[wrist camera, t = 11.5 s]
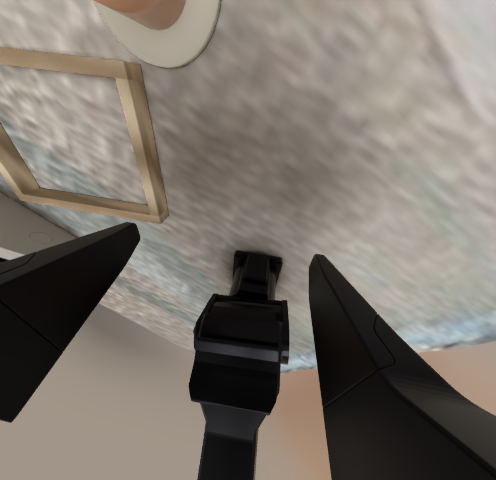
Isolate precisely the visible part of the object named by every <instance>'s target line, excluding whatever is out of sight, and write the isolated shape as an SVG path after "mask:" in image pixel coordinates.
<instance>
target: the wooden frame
mask: <svg viewBox="0 0 496 480" xmlns="http://www.w3.org/2000/svg"><path fill="white" fill-rule="evenodd" d="M0 64H4V65H12V66H20V67H29V68H37V69H45V70H54V71H62V72H70V73H78V74H87V75H95V76H103V77H112V78H115V79H116V83H117V87H118V91H119V95H120V99H121V102H122V106H123V110H124V114H125V118H126V122H127V126H128V130H129V134H130V137H131V141H132V145H133V149H134V153H135V157H136V161H137V165H138V168H139V172H140V176H141V180H142V184H143V188H144V192H145V196H146V199H147V203H148V205H143V204H137V203H131V202H125V201H118V200H112V199H106V198H100V197H94V196H87V195H81V194H75V193H69V192H63V191H56V190H50V189H44V188H40V187H39V186H38V184H37V182H36V181H35V179H34V178H33V176H32V174H31V173H30V171H29V169H28V168H27V166H26V164H25V163H24V161H23V160H22V158H21V156H20V155H19V153H18V151H17V150H16V148H15V146H14V145H13V143H12V142H11V140H10V138H9V137H8V135H7V133H6V132H5V130H4V128H3V127H2V125H1V124H0V172H1V174H2V175H3V176H4V178H5V179H6V181H7V182H8V183H9V185H10V186H11V188H12V189H13V191H14V192H15V193H16V195H17V196H18V198H19V199H20V200H21V201H26V202H32V203H38V204H44V205H50V206H56V207H62V208H68V209H74V210H80V211H86V212H92V213H98V214H104V215H110V216H116V217H122V218H128V219H134V220H140V221H146V222H152V223H158V224H161V223H162V222H163V221H164V220H165V219H166V218H167V217H168V216H169V214H168V209H167V204H166V198H165V193H164V188H163V183H162V177H161V172H160V167H159V162H158V156H157V151H156V146H155V141H154V135H153V130H152V125H151V119H150V114H149V109H148V104H147V98H146V93H145V88H144V83H143V77H142V72H141V67H140V65H138V64H134V63H129V62H124V61H117V60H108V59H99V58H90V57H82V56H73V55H64V54H56V53H47V52H38V51H29V50H21V49H12V48H3V47H0Z"/></svg>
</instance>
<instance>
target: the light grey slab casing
mask: <svg viewBox="0 0 496 480" xmlns="http://www.w3.org/2000/svg"><path fill="white" fill-rule="evenodd" d="M73 239H76V237H74V236H72V235H71V234H69V233H67V232H66V231H64V230H62V229H61V228H59V227H57V226H56V225H54V224H52V223H51V222H49V221H47V220H46V219H44V218H42V217H41V216H39V215H37V214H36V213H34V212H32V211H31V210H29V209H27V208H26V207H24V206H22V205H21V204H19V203H17V202H16V201H14V200H12V199H11V198H9V197H7V196H5V195H4V194H2V193H0V263H1V262H5V261H8V260H11V259H14V258H18V257H21V256H24V255H27V254H30V253H33V252H38V251H39V250H42V249H46V248H49V247H52V246H55V245H58V244H61V243H64V242H67V241H70V240H73Z"/></svg>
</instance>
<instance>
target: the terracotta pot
mask: <svg viewBox="0 0 496 480" xmlns="http://www.w3.org/2000/svg"><path fill="white" fill-rule="evenodd" d="M94 1H96V2H98V3H100V4H102V5H104V6H106V7H108V8H110V9H112V10H114V11H116V12H118V13H120V14H122V15H124V16H125V17H127V18H129V19H131V20H133V21H135V22H137V23H139V24H141V25H143V26H145V27H147V28H150V29H153V30H164V29H167V28H169V27H170V26H172V25H173V24H174V23H175V22H176V21H177V20H178V18H179V17H180V15H181V13H182V11H183V9H184V6H185V3H186V0H94Z"/></svg>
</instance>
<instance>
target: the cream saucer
mask: <svg viewBox="0 0 496 480" xmlns="http://www.w3.org/2000/svg"><path fill="white" fill-rule="evenodd" d="M93 1H94V0H93ZM94 3H95V5H96V7H97V9H98V11H99V13H100V14H101V16H102V18H103V20H104V21H105V23H106V24H107V26H108V27H109V29H110V30H111V31H112V33H113V34H114V35H115V37H116V38H117V39H118V40H119V41H120V42H121V43H122V45H123V46H124V47H126V48H127V49H128V50H129V51H130V52H131V53H132V54H134V55H135V56H136V57H138V58H139V59H141V60H143V61H145V62H147V63H149V64H152V65H155V66H159V67H164V68H177V67H182V66H184V65H187V64H188V63H190V62H192V61H193V60H194V59H196V58H197V57H198V56H199V55H200V54H201V52H202V51H203V50H204V49H205V47H206V46H207V44H208V42H209V41H210V38H211V36H212V34H213V32H214V29H215V26H216V23H217V19H218V15H219V10H220V4H221V0H186V3H185V6H184V9H183V11H182V13H181V15H180V17H179V18H178V20H177V21H176V22H175V23H174V24H173V25H172V26H170V27H169V28H167V29H164V30H153V29H150V28H147V27H145V26H143V25H141V24H139V23H137V22H135V21H133V20H131V19H129V18H127V17H125V16H124V15H122V14H120V13H118V12H116V11H114V10H112V9H110V8H108V7H106V6H104V5H102V4H100V3H98V2H96V1H94Z"/></svg>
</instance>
